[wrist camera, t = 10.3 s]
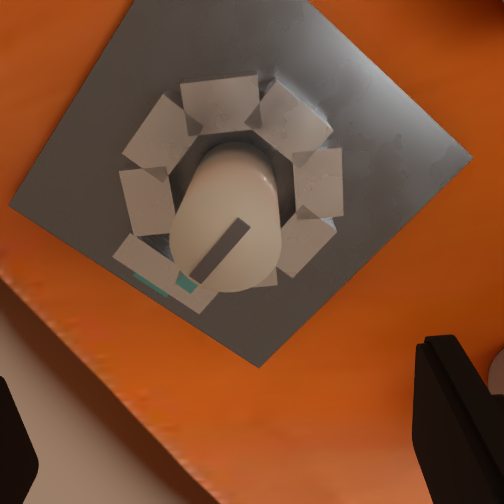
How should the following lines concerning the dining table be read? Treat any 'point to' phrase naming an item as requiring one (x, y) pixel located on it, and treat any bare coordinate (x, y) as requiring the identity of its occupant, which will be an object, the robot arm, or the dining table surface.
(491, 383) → the coffee cup
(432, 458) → the robot arm
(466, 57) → the dining table surface
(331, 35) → the hub plate
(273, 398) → the dining table surface
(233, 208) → the knob
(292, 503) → the dining table surface
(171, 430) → the dining table surface
